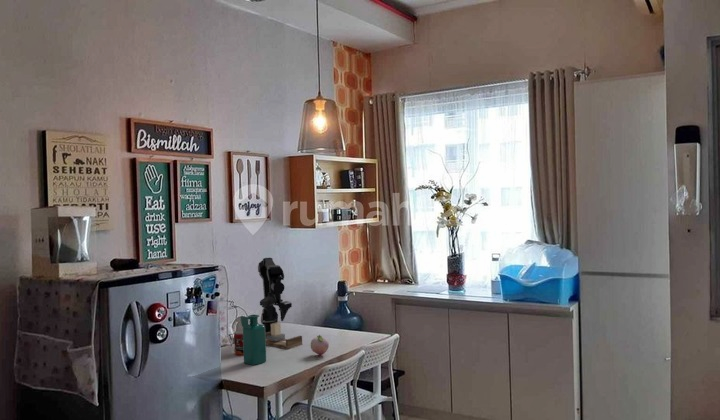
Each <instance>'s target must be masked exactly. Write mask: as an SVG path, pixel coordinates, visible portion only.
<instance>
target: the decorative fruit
mask: <svg viewBox="0 0 720 420" xmlns="http://www.w3.org/2000/svg"><path fill="white" fill-rule="evenodd" d="M329 347H330V346H329V341H328V340H327V339H326V338H325V337H323V336H322V335H321V334H319V335H316V336H315V337H314V338H313V339H312V340H311V342H310V349H311V351H312V352H313V353H315V354H316V355H319V357H320V356H323V355H324V354H325V353H326V352H327V351H328V350H329Z"/></svg>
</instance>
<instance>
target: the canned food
mask: <svg viewBox="0 0 720 420" xmlns="http://www.w3.org/2000/svg"><path fill="white" fill-rule="evenodd" d="M233 333H234V334H233V342H234V354H235V355H236V356H239V357H240V356H243V357H244V352H243V329H237V330H235V331H234V332H233Z"/></svg>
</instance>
